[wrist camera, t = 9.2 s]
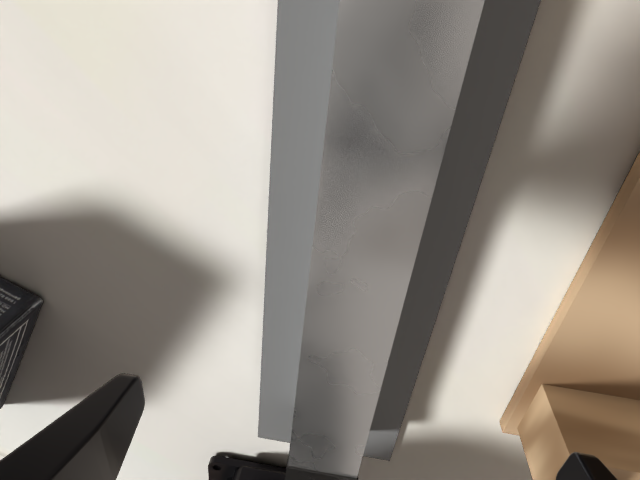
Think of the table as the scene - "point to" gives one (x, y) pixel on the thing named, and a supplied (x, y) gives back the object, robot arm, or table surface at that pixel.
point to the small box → (14, 330)
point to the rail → (372, 212)
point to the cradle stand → (589, 358)
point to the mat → (303, 185)
